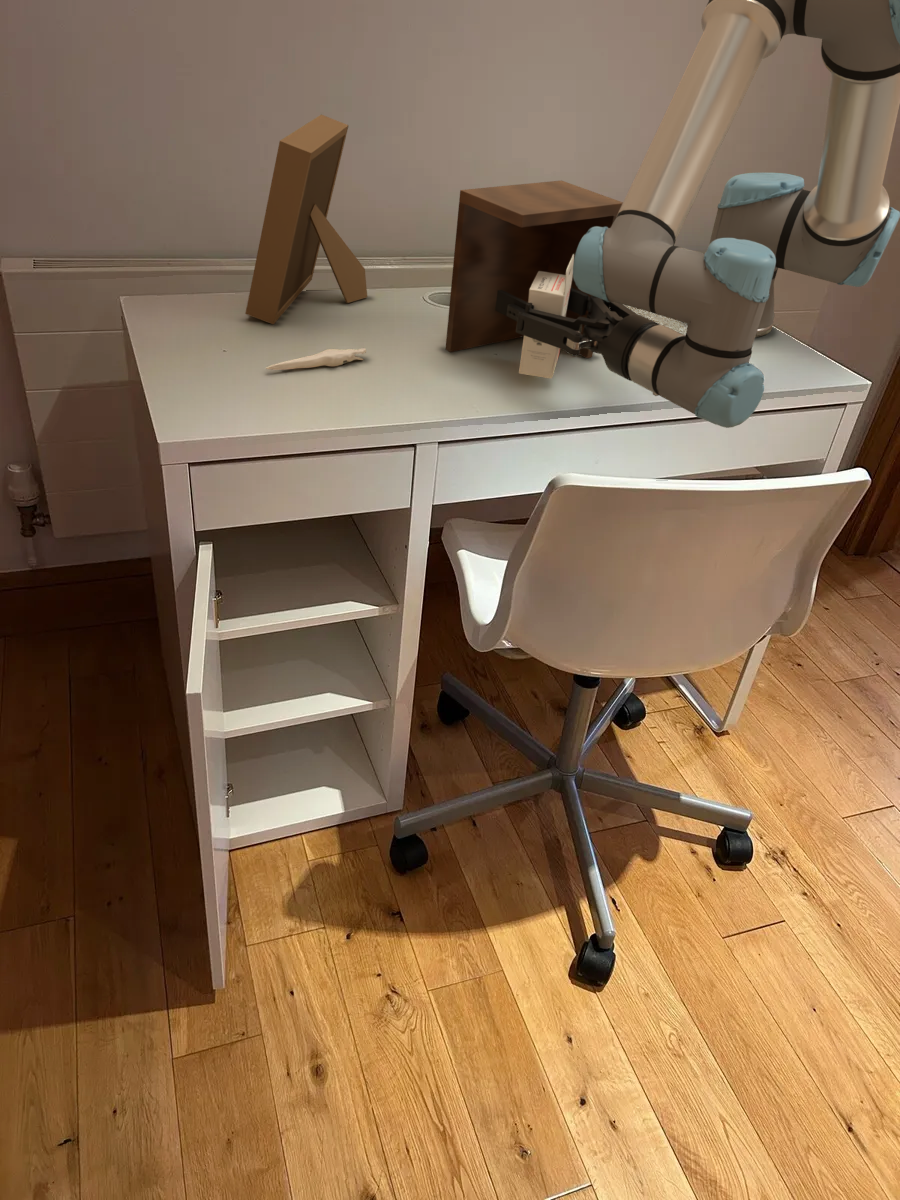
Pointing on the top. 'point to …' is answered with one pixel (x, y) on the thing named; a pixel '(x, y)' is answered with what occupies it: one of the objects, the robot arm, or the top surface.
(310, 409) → the top surface
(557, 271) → the shelf
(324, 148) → the photo frame
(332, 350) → the beige tapered rod
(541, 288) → the ink cartridge box
